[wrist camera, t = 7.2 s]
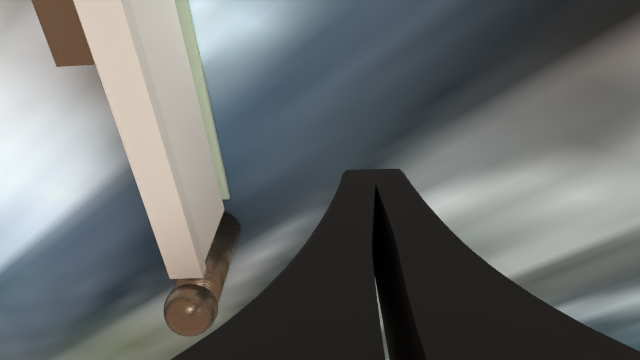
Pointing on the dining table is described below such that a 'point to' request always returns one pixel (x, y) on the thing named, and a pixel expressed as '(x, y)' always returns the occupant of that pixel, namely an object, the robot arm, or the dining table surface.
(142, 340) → the dining table surface
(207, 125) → the sill strip
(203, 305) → the hinge post
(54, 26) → the post
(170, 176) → the beige flat panel
